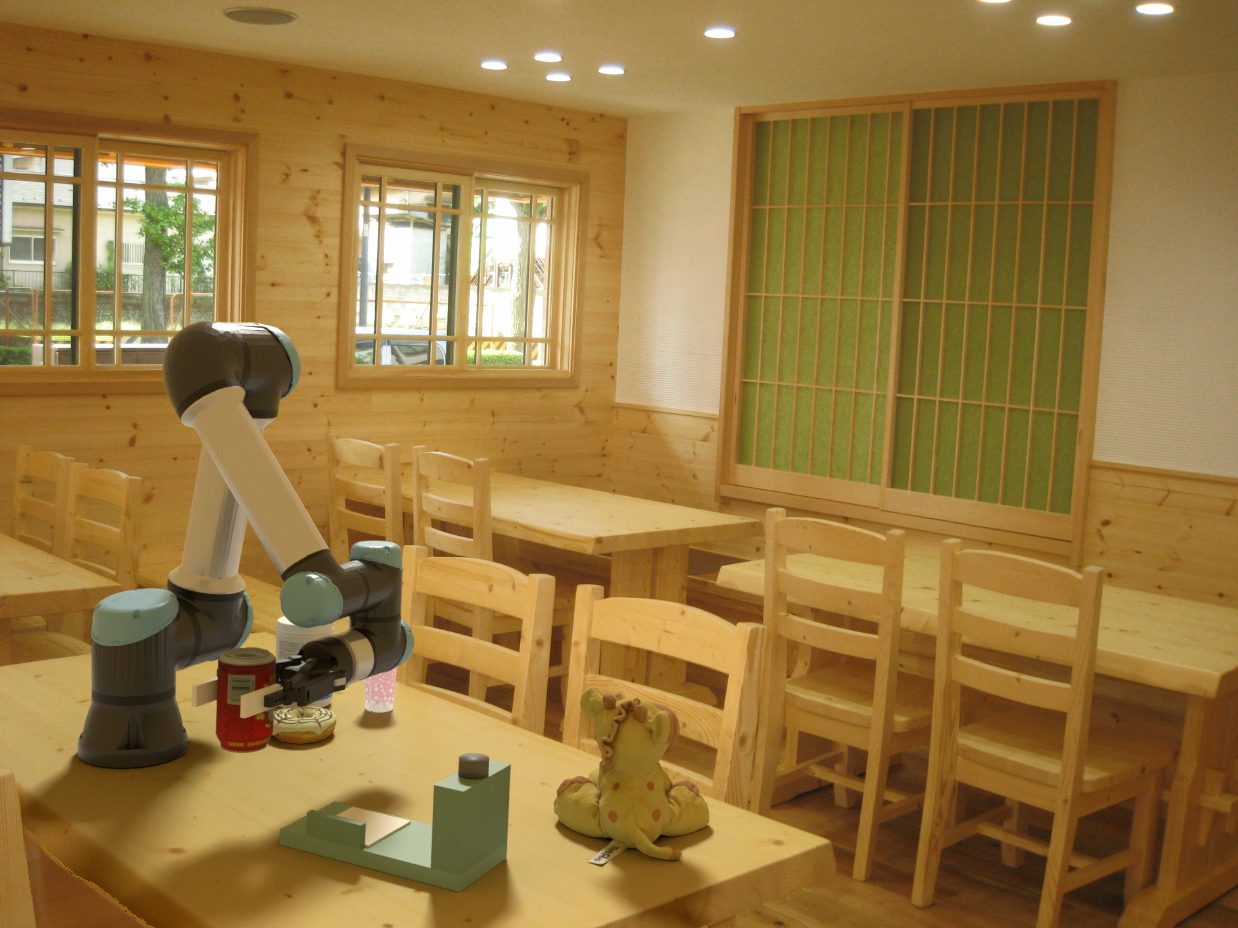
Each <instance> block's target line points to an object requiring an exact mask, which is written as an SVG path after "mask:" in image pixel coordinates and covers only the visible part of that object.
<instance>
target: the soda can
mask: <svg viewBox="0 0 1238 928" xmlns="http://www.w3.org/2000/svg"><path fill="white" fill-rule="evenodd" d="M217 669H218V680H217V700H216V710H215V711H216V714H215V716H216V717H215V718H216V719H215V735H216V738H217V740H218V741H219V742H220V748H221V750H223V751H225V752H228V753H232V754H249V753H250V754H251V753H256V752H259V751H262V750H265V749H266V748H267V746H268V742H269V740H270V739H271V736H273V735H272V733H273V722H274V711H275V708H272V709H269V710H266V711H264V712H261V713H258V714H256V715H253V716H250V717H247V718H241V717H240V708H241V696H242V695H245V694H248V693H251V692H253V691H256V690H259V689H262V688H265V687H268V686H271V685H274V684H275V669H276V655H274V653H272V652H270V651H269V650H268V649H265V648H261V647H255V646H253V647H252V646H251V647H250V646H247V647H240V648H233V649H229V650H228V651H226V652H225V653H223V654H222V655H220V657H219V659H218V660H217Z"/></svg>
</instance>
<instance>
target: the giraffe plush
mask: <svg viewBox="0 0 1238 928" xmlns="http://www.w3.org/2000/svg"><path fill="white" fill-rule="evenodd" d="M579 701H580V702H579V705H580V708H581V710H582V711H583V712H584V713H585V715H587V716H589V717H590V718H594V719H595V721H594V736H595V740H596V744H597V748H598V750H599V752H600V754H601V760H600V762H599V763H598V767H596V768H595V769H593V770H592V771H591V772H590V773H589V775H588V776H587V777H585V776H584V775H583V776H581V775H576V776H575V777H573V778H567V779H566V778H565V779H563V780H562V782H561V784H559V786H558V788H557V789H556V798H555V800H554V802H553V812H554V814H555V815H556V816H557V818H558V820H559V822H560V823H561V824H562V825H564V826H565V827H567V828H568V829H570V830H572V831H573V832H576V833H579V834H582V835H584V836H588V837H591V838H605V839H606V838H610V839H612V840H611V841H610V842H609V843H608V844H607V845H606V846H604V847H603V848H602V849H601V850H599V851H598V853H597V854H595V855H593V856H592V857H590V858H589V859H588V860H587V861H586V863H589V864H593V865H597V866H598V865H599V866H600V865H604V864H605V863H609V862H610V861H612V860H613V859H615V857H617V856H618V855H620V854H621V853H623V852H624V851H626V849H628V848H630V849H637V850H638V851H639V852H641V853H643V854H644V855H647V856H649V857H652V858H656V859H659V860H665V861H677V860H679V859H680V858H681V857H682V855H683V854H682V853H683V851H682V849H680V848H679V847H676V846H670V845H669V846H667V845H666V846H658V845H655V844H654V842H655V841H656V840H657V839H658V838H659V837H660V836H661V835H663V836H668V837H672V836H673V837H674V836H675V837H676V836H684V835H687V834H692V833H694V832H697V831H698V830H702V829H704V828H705V827H707V826H708V824H709V822H710V810H709V806H708V803H707V802H706V800H705V799H704V796H702V794H701V793H700V790H699V787H698V786H697V784H695V783H694V782H693V781H691V780H681V781H677V782H675V783H673V782H674V781H672V779H671V778H670V776H669V774H668V771H666V770H665V768H664V767H662V765H661V763H660V761H661V759H663V756H664V755H665V754H668V753H670V752H672V751H674V749H675V748H676V746H677V744H678V741H679V738H680V734H681V733H680V730H681V726H680V721H679V718H678V717H677V714H676V713H675V712H674V710H673V709H671V707H670V706H667V705H665V704H662V703H657V702H654V701H651V700H650V699H646V698H644V697H628V698H626V697H625V698H624V699H620V700H617V699H616V698H615V696H614V695H613V694H611V693H604V691H603V690H602V689H601V687H599V686H595V685H592V686H589V687H588V688H587V689H586V690H584V691H583V692H582V694H581V697H580V700H579Z"/></svg>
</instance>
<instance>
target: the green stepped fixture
mask: <svg viewBox="0 0 1238 928" xmlns="http://www.w3.org/2000/svg"><path fill="white" fill-rule="evenodd" d="M511 765H512V764H511V763H507V762H501V761H498V760H497V761H496V760H493V759H492V760H491V759H490V756H488V755H487V754H483V753H479V752H469V753H464V754H461V755H459V756H458V770H457V772H454V773H453V774H451V775H449V776H448V777H446V778H443V779H442V780H440V781H438V782H436V783H434V784H433V794H432V795H433V796H432V797H433V799H432V800H433V803H432V824H429V823H427V822H423V821H422V822H421V821H418V820H415V819H414V820H413V819H410V818H406V817H401V816H397V815H392V814H389V813H385V812H380V811H377V810H372V809H368V808H364V807H360V806H356V805H352V804H347V803H345V802H339V801H333V802H331V803H329V804H327V805H325V806H322V807H321V808H319V809H318V810H316V809H310V810H309V811H306V816H302V817H301V818H299V819H297V820H296V821H293V822H291V823H289V824H287V825H285V826H284V827H281V828H280V829H279V845H281V846H282V847H283V846H284V847H288V848H292V849H294V850H299V851H303V852H306V853H309V854H310V853H311V854H314V855H318V856H321V857H325V858H329V859H334V860H337V861H340V862H344V863H346V864H347V863H348V864H352V865H355V866H360V867H363V868H367V869H371V870H375V871H376V872H377V871H378V872H382V873H386V874H389V875H393V876H396V877H397V876H398V877H401V878H405V879H408V880H412V881H416V882H419V883H424V884H427V885H430V886H435V887H438V888H442V889H445V890H450V891H454V892H457V893H460V892H462V891H463V890H464V889H466V888H467V887H469V886H470V885H472V884H473V883H474V882H476V881H478V880H479V879H480V878H481V877H483V876H485V874H487V873H488V872H490V871H491V870H493V869H494V868H496V867H497V866H498V865H500V864H501V863H503V862H504V861H505V860H507V858H508V857H507V855H508V854H507V853H508V834H509V833H508V831H509V817H510V816H509V813H510V812H509V810H510V792H511V791H510V788H511V771H512V770H511V769H512V768H511V767H512V766H511Z"/></svg>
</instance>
